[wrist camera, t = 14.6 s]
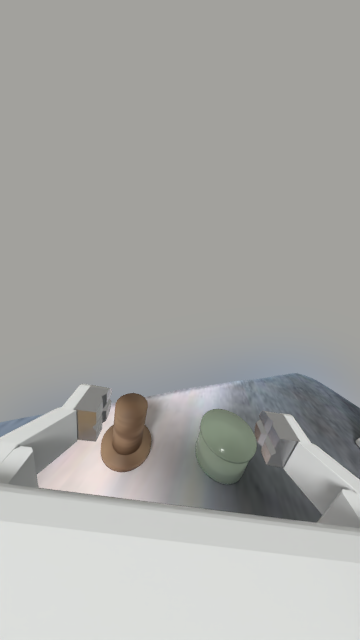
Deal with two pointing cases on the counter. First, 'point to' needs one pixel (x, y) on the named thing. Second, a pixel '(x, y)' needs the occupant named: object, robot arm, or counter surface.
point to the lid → (127, 435)
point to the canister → (224, 446)
